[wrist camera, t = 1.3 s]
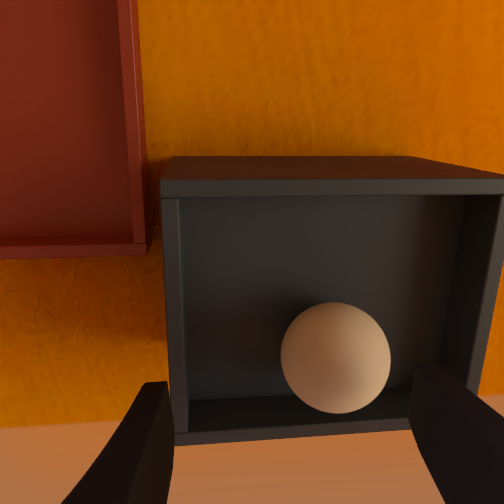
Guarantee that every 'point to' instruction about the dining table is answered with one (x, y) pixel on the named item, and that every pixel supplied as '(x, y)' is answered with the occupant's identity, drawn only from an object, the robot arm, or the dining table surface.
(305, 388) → the ball
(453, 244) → the box
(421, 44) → the dining table surface
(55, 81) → the tray
